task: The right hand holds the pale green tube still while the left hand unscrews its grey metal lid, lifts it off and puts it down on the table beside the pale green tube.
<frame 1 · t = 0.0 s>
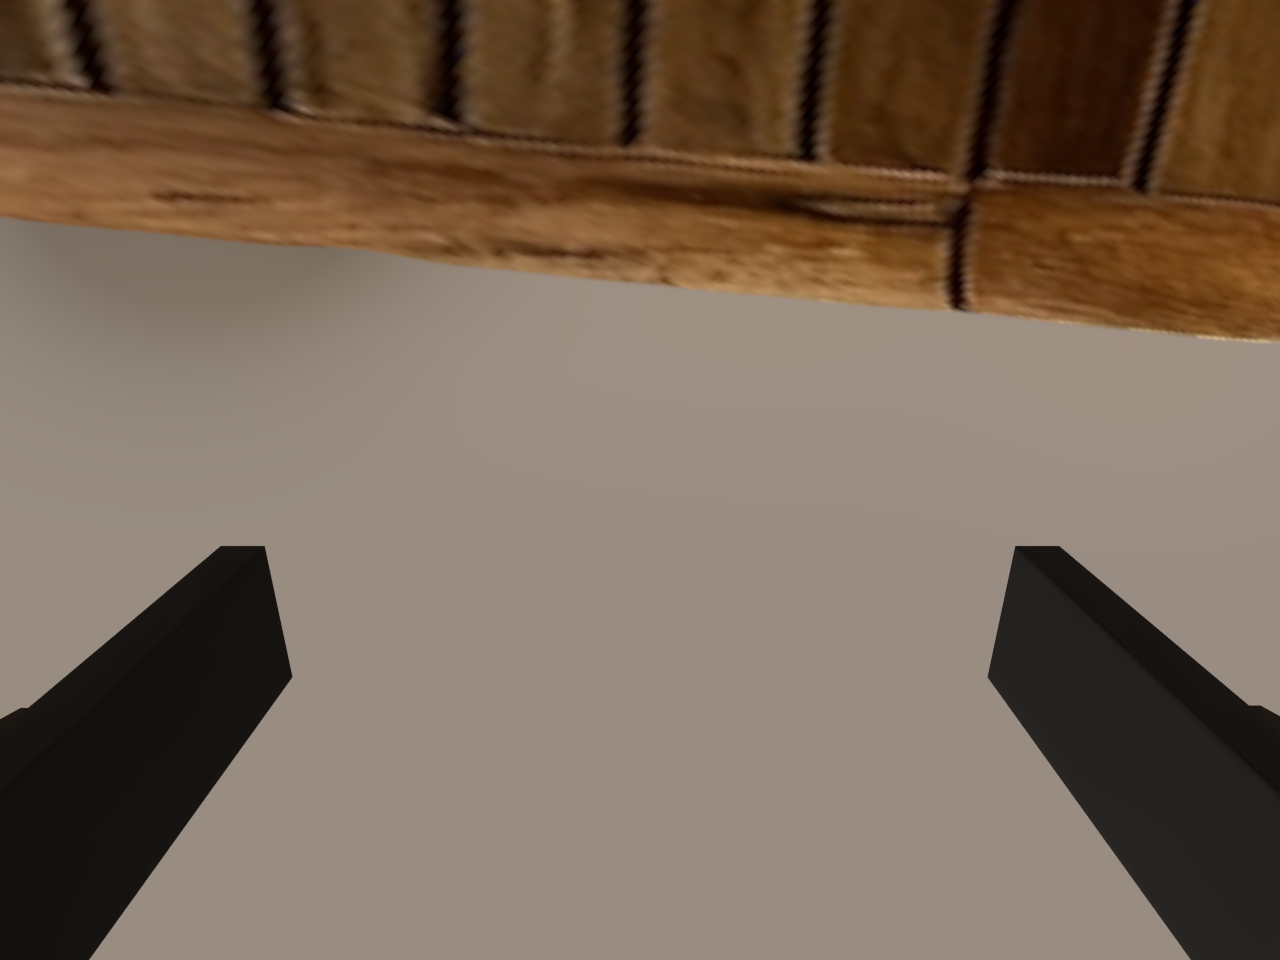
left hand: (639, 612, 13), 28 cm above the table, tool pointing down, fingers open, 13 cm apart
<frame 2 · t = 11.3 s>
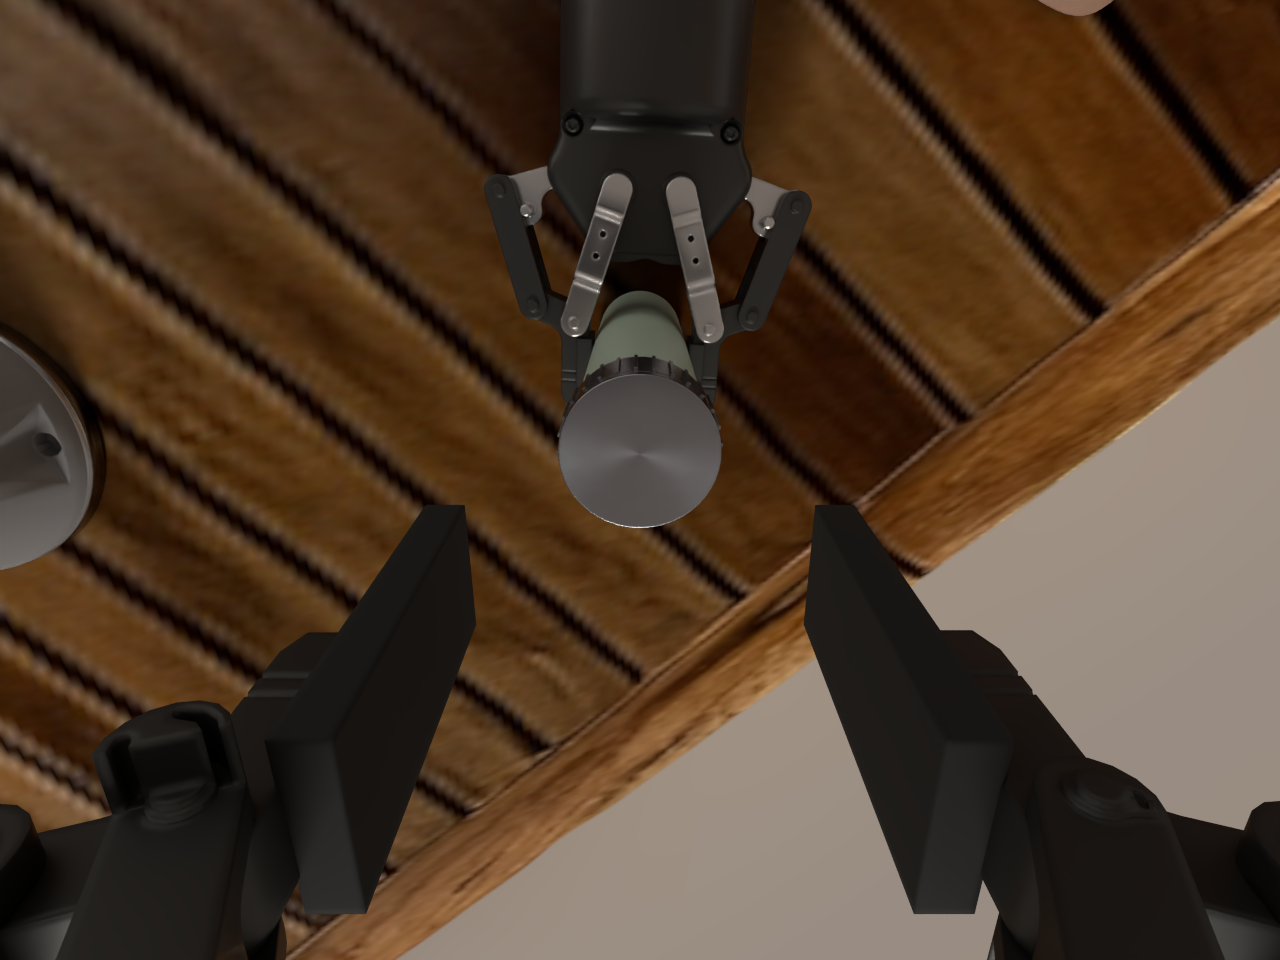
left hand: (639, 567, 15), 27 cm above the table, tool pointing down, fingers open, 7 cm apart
right hand: (637, 413, 34), fingers closed on pale green tube, 4 cm apart
lid: (639, 450, 21), point 20 cm above the table, screwed on, not yet turned
pale green tube: (640, 331, 39), on the table, touching right hand
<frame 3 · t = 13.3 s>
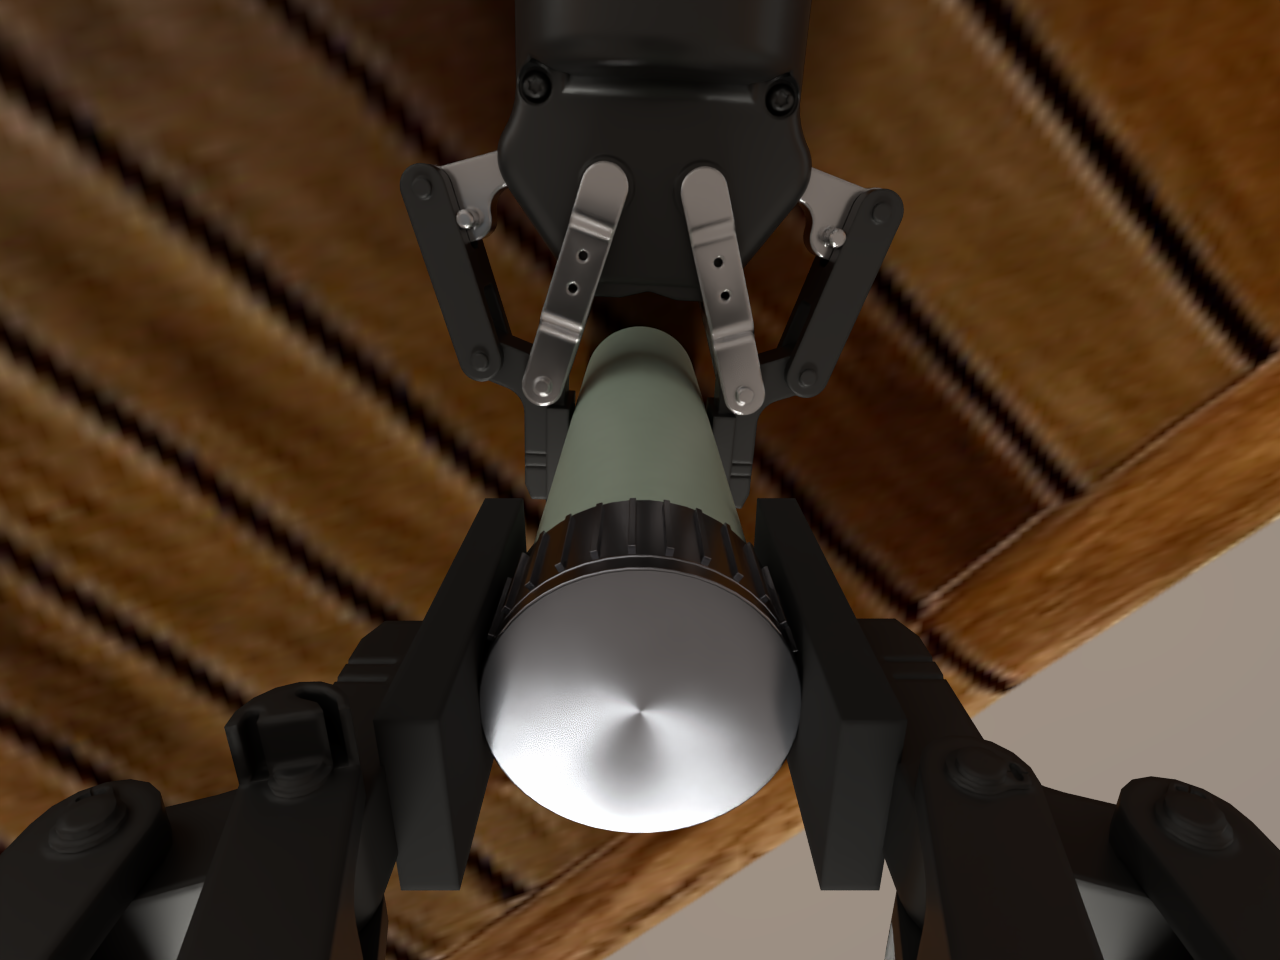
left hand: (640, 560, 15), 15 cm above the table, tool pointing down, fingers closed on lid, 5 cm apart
right hand: (637, 509, 24), fingers closed on pale green tube, 4 cm apart
lid: (640, 696, 11), point 20 cm above the table, screwed on, not yet turned, touching left hand
pale green tube: (640, 380, 29), on the table, touching right hand
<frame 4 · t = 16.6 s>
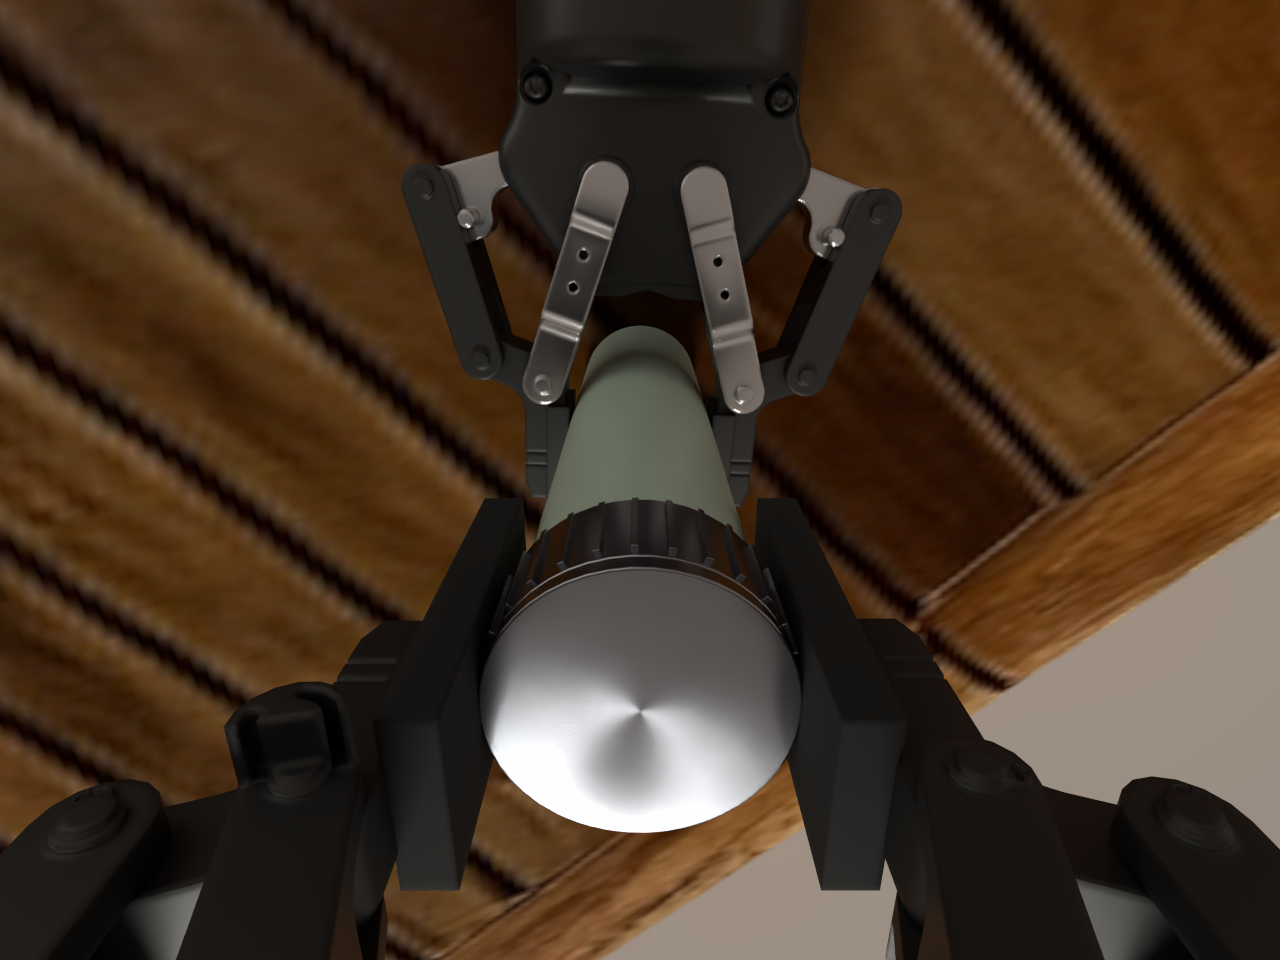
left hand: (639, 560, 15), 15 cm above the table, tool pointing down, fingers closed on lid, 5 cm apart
right hand: (637, 507, 24), fingers closed on pale green tube, 4 cm apart
lid: (640, 696, 11), point 20 cm above the table, turned 89° so far, risen 0.1 cm, still on its thread, touching left hand
pale green tube: (640, 379, 29), on the table, touching right hand
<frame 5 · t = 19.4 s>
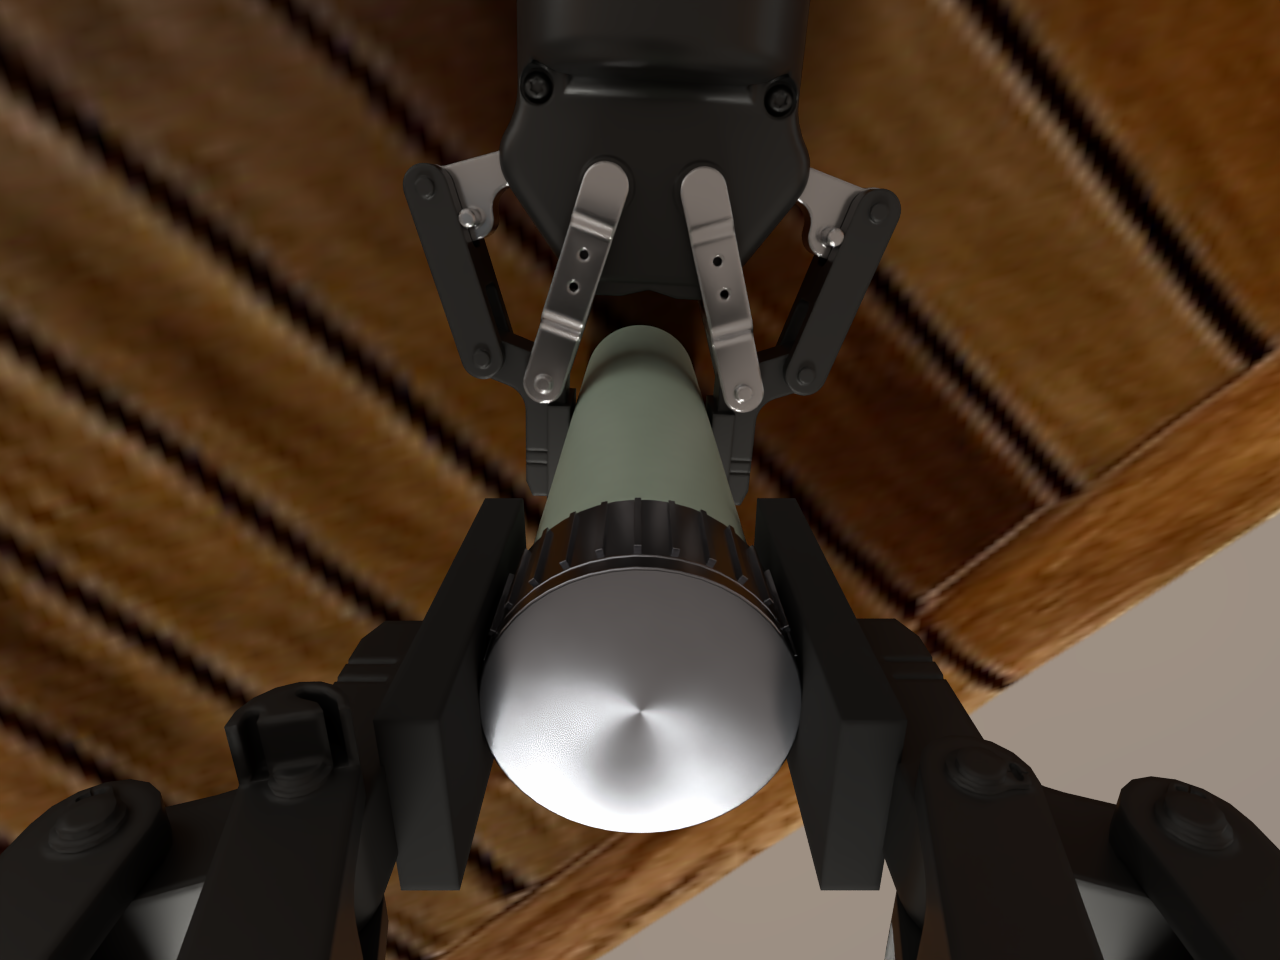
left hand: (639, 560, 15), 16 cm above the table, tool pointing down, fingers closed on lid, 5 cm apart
right hand: (637, 506, 24), fingers closed on pale green tube, 4 cm apart
lid: (640, 696, 11), point 20 cm above the table, turned 178° so far, risen 0.2 cm, still on its thread, touching left hand
pale green tube: (640, 378, 29), on the table, touching right hand
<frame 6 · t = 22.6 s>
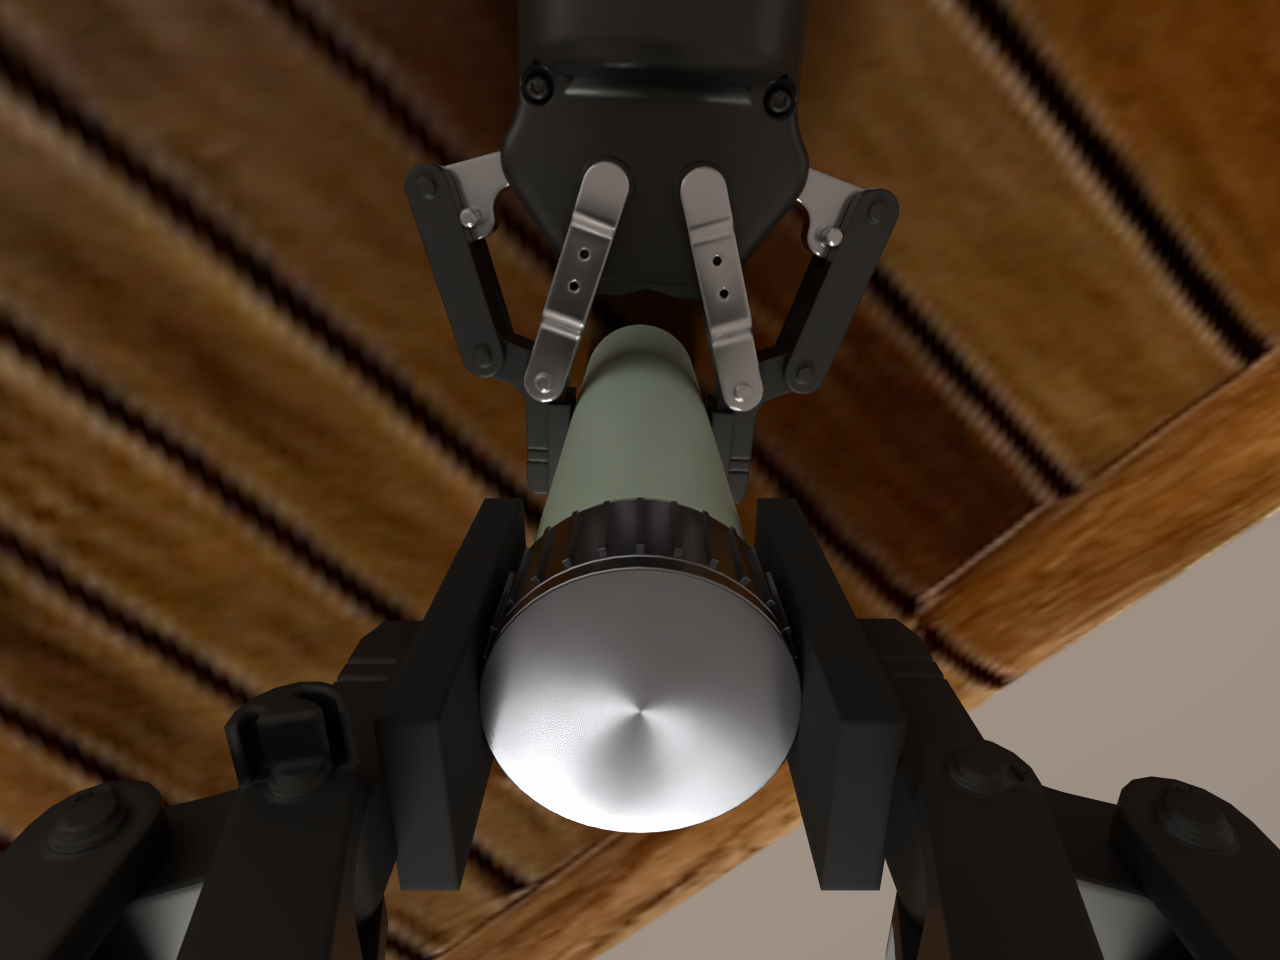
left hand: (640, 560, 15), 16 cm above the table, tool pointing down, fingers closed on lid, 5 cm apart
right hand: (636, 504, 24), fingers closed on pale green tube, 4 cm apart
lid: (640, 696, 11), point 20 cm above the table, turned 267° so far, risen 0.4 cm, still on its thread, touching left hand
pale green tube: (640, 378, 29), on the table, touching right hand
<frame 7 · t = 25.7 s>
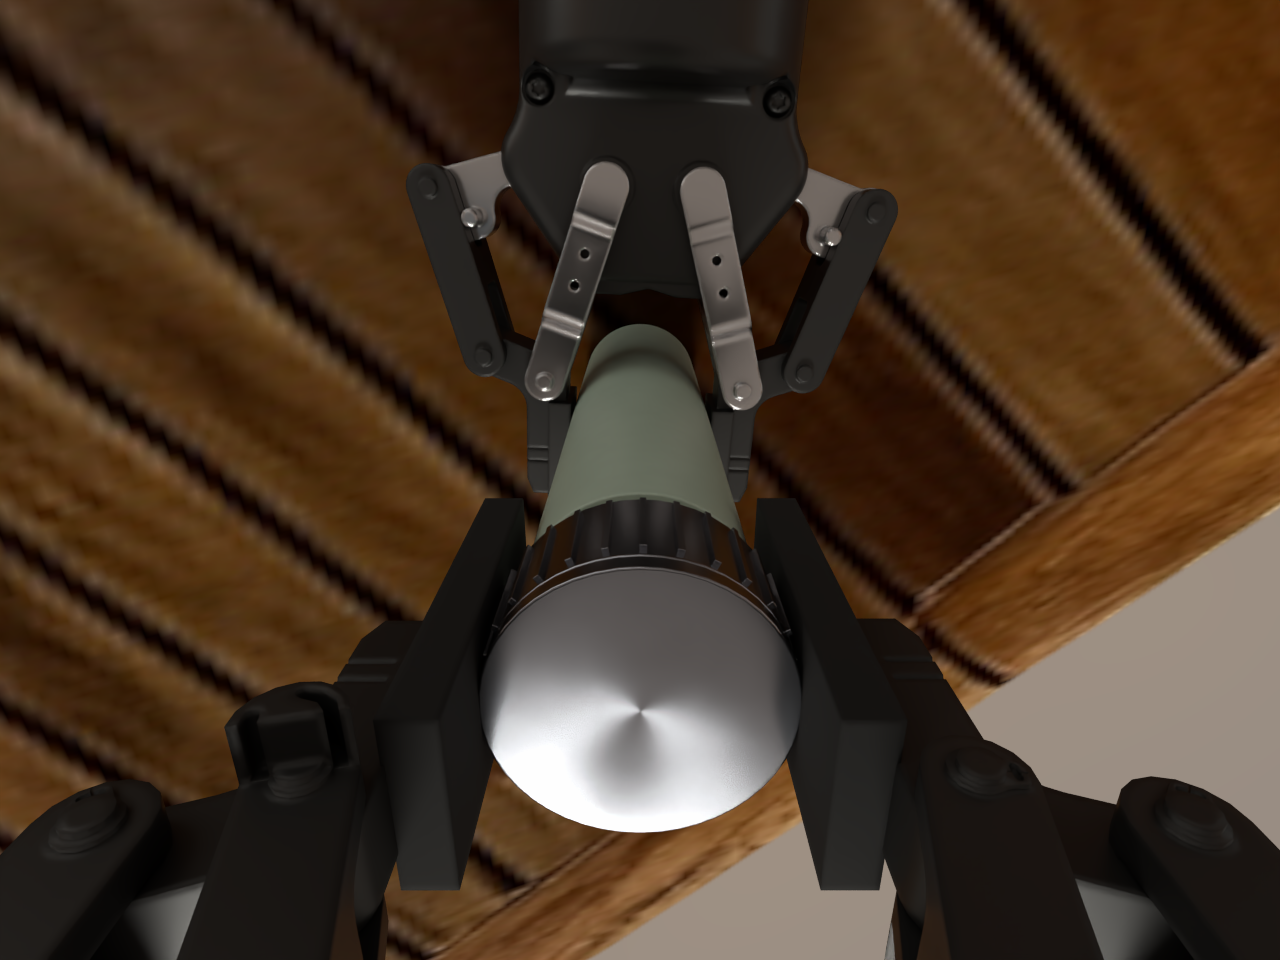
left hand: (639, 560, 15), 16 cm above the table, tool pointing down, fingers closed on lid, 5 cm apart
right hand: (636, 502, 24), fingers closed on pale green tube, 4 cm apart
lid: (640, 695, 11), point 20 cm above the table, turned 356° so far, risen 0.5 cm, still on its thread, touching left hand
pale green tube: (640, 377, 29), on the table, touching right hand
when the left hand's fingers open (0 cm above the table, at t = 36.1 s): lid drops 3 cm, point 2 cm above the table.
when the right hand's fingers open (7 cm above the table, at t = 36.7 s): pale green tube stays where it is, on the table.
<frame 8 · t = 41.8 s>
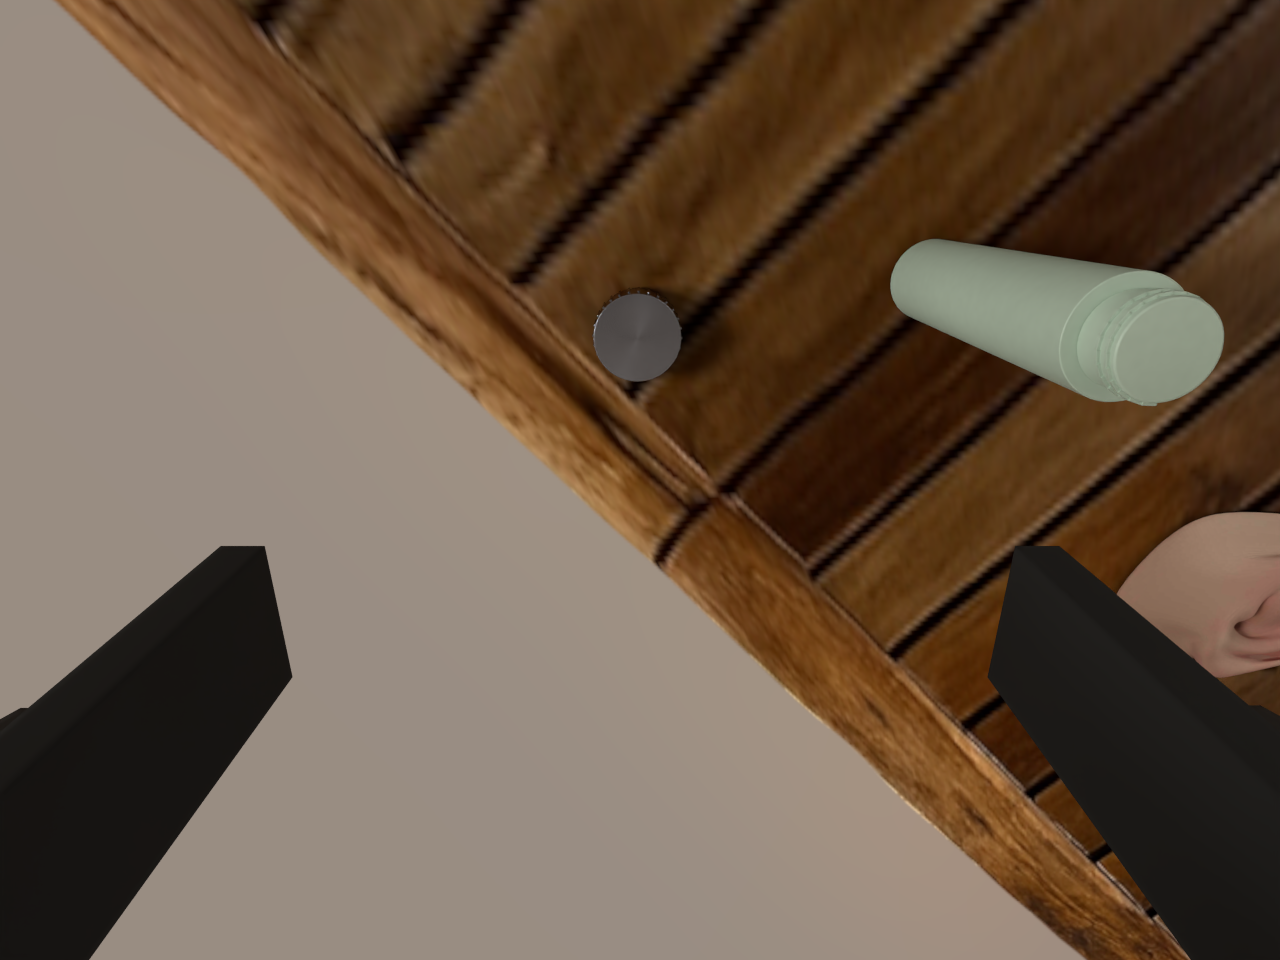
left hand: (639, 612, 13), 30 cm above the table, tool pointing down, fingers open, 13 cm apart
lid: (637, 337, 39), point 2 cm above the table, off its thread
pale green tube: (929, 280, 40), on the table
anatomical model: (1221, 585, 47), on the table
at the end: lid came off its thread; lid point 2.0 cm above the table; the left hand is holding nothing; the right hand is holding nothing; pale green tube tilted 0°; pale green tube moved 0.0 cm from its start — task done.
